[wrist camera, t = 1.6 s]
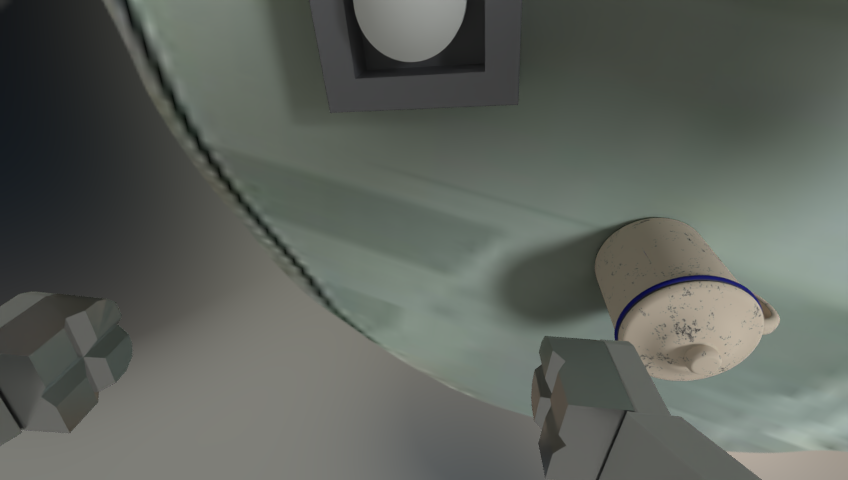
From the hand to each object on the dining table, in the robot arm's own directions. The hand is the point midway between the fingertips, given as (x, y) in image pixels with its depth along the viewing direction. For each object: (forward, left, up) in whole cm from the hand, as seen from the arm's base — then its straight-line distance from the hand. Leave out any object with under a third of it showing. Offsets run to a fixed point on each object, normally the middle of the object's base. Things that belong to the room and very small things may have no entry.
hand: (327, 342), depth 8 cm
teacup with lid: (-18, +16, -27) cm, 36 cm away
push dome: (+1, -5, -23) cm, 23 cm away
